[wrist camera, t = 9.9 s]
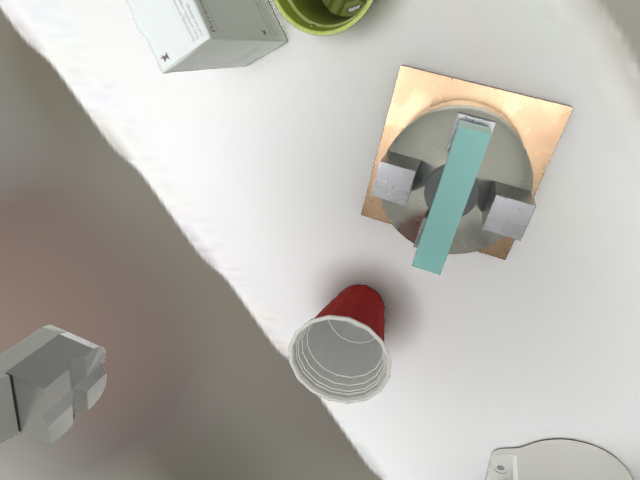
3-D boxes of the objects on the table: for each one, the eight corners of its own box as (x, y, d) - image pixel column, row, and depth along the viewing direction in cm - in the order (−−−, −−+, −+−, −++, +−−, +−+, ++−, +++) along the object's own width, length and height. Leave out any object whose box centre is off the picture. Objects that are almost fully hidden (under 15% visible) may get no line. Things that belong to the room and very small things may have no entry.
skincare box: (289, 41, 47) (218, 42, 34) (244, 68, 50) (162, 79, 37) (251, -41, 45) (160, -73, 32) (206, -8, 48) (105, -25, 35)
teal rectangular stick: (502, 126, 37) (505, 138, 32) (454, 253, 42) (451, 278, 38) (448, 113, 38) (444, 122, 33) (408, 239, 43) (400, 262, 39)
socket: (504, 255, 49) (511, 314, 39) (363, 211, 52) (334, 254, 42) (570, 106, 42) (601, 128, 31) (402, 65, 45) (379, 73, 34)
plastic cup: (412, 341, 57) (397, 409, 46) (331, 340, 61) (300, 403, 50) (400, 262, 53) (380, 317, 43) (314, 267, 57) (277, 318, 47)
